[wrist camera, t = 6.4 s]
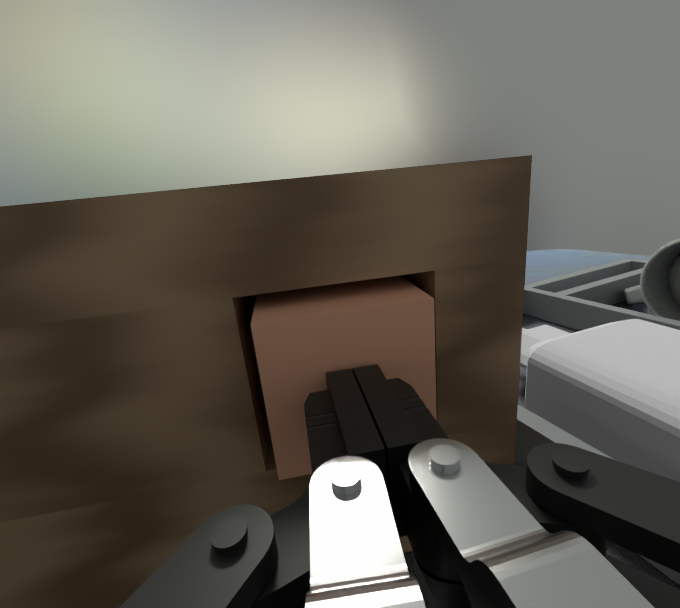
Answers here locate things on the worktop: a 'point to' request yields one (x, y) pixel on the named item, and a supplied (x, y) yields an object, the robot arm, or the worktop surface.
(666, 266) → the ceramic mug
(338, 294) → the button terracotta
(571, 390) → the charger
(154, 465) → the panel
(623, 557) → the worktop surface
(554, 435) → the counter rail frame
